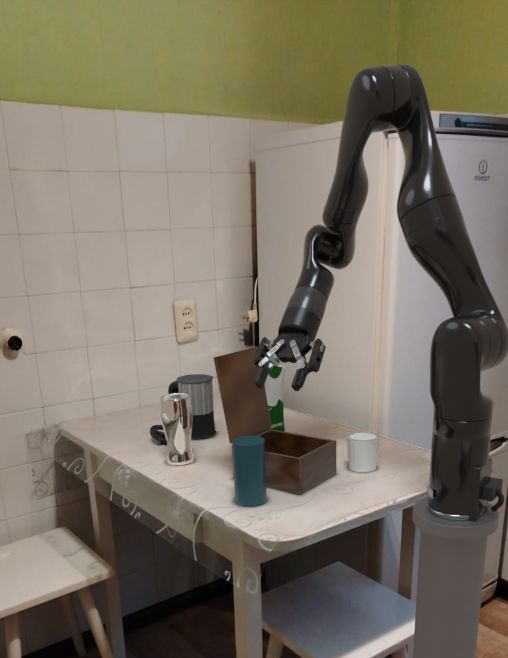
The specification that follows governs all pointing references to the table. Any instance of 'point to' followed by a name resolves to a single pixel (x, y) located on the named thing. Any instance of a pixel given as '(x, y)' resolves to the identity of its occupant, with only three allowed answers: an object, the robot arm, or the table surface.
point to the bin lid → (242, 394)
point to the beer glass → (177, 427)
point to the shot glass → (362, 451)
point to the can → (249, 470)
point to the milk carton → (275, 397)
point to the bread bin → (297, 461)
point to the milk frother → (193, 405)
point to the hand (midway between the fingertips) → (276, 387)
